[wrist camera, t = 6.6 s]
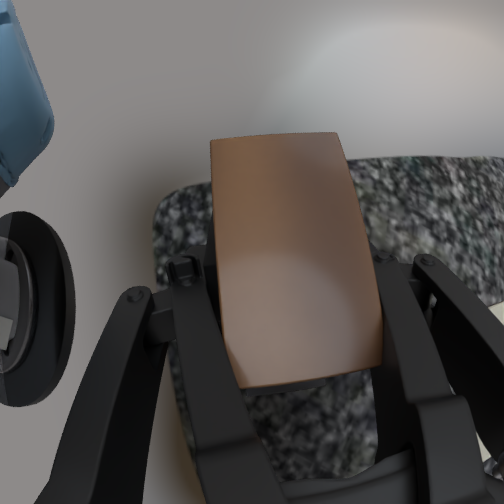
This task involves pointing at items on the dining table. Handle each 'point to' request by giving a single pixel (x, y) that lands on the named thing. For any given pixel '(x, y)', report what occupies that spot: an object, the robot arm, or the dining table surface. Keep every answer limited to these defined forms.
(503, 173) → the dining table surface
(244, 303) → the eraser
